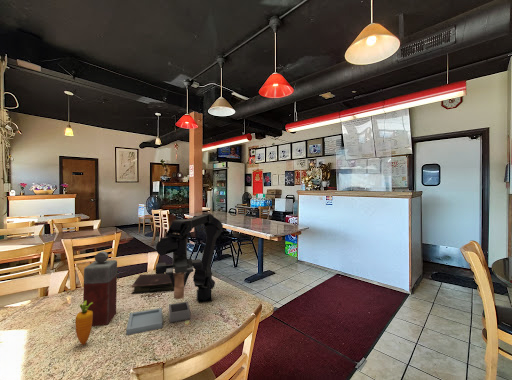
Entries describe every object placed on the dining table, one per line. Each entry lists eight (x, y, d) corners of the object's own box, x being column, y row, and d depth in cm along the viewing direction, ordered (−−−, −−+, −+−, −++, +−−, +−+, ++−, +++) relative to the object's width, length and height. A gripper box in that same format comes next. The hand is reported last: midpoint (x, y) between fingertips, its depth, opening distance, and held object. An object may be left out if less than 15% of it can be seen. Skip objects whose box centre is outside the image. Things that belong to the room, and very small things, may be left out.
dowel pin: (183, 294, 102) (183, 271, 102) (184, 298, 98) (184, 274, 98) (173, 295, 100) (174, 272, 100) (174, 299, 96) (174, 275, 96)
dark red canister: (118, 310, 103) (119, 247, 103) (107, 324, 92) (109, 254, 92) (95, 312, 101) (97, 248, 101) (82, 327, 90) (83, 255, 90)
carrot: (81, 340, 83) (81, 298, 83) (95, 339, 83) (96, 298, 83) (71, 350, 78) (71, 305, 78) (86, 349, 78) (87, 304, 78)
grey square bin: (187, 310, 104) (187, 301, 104) (189, 319, 97) (190, 310, 97) (168, 313, 101) (168, 304, 101) (169, 323, 94) (169, 313, 94)
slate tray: (161, 312, 102) (161, 307, 102) (162, 328, 91) (162, 322, 91) (129, 317, 97) (129, 313, 97) (126, 335, 86) (126, 329, 86)
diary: (140, 282, 136) (140, 273, 136) (184, 279, 142) (184, 270, 142) (131, 295, 118) (131, 286, 118) (182, 291, 124) (182, 282, 124)
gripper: (156, 256, 88) (155, 298, 88) (205, 252, 95) (204, 290, 95) (156, 249, 98) (155, 286, 98) (200, 246, 106) (200, 280, 106)
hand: (179, 286), depth 99 cm, fingers closed on dowel pin, 4 cm apart
